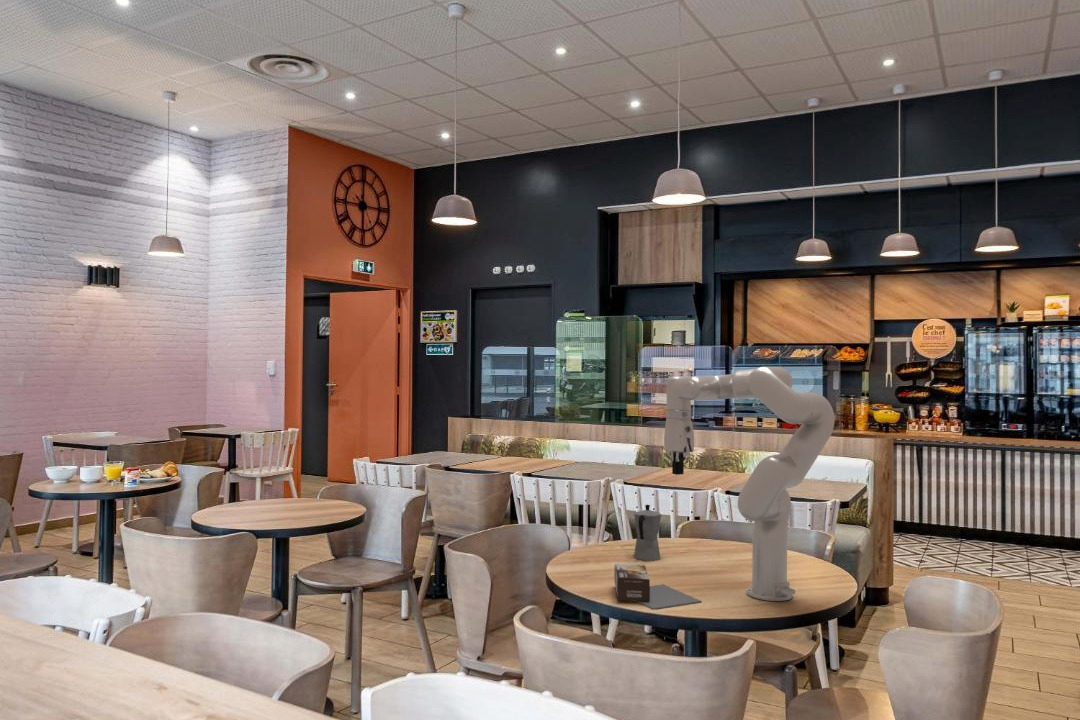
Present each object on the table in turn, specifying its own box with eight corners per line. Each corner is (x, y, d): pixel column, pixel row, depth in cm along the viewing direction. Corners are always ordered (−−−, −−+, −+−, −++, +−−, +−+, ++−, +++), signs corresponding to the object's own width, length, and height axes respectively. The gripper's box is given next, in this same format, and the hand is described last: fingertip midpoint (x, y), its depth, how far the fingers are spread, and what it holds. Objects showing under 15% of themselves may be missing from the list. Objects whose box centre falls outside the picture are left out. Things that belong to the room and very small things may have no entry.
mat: (701, 602, 213) (701, 600, 213) (653, 609, 206) (653, 608, 206) (663, 585, 229) (663, 584, 229) (616, 592, 222) (617, 590, 222)
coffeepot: (639, 552, 270) (639, 500, 271) (665, 555, 267) (666, 502, 267) (625, 562, 256) (626, 507, 257) (653, 565, 253) (654, 510, 253)
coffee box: (614, 584, 228) (615, 601, 212) (614, 563, 228) (616, 577, 212) (645, 585, 227) (649, 602, 211) (645, 563, 227) (650, 578, 211)
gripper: (703, 416, 238) (702, 476, 238) (674, 414, 252) (673, 470, 251) (683, 417, 235) (682, 477, 235) (654, 414, 248) (654, 471, 248)
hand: (677, 474), depth 243 cm, fingers closed
